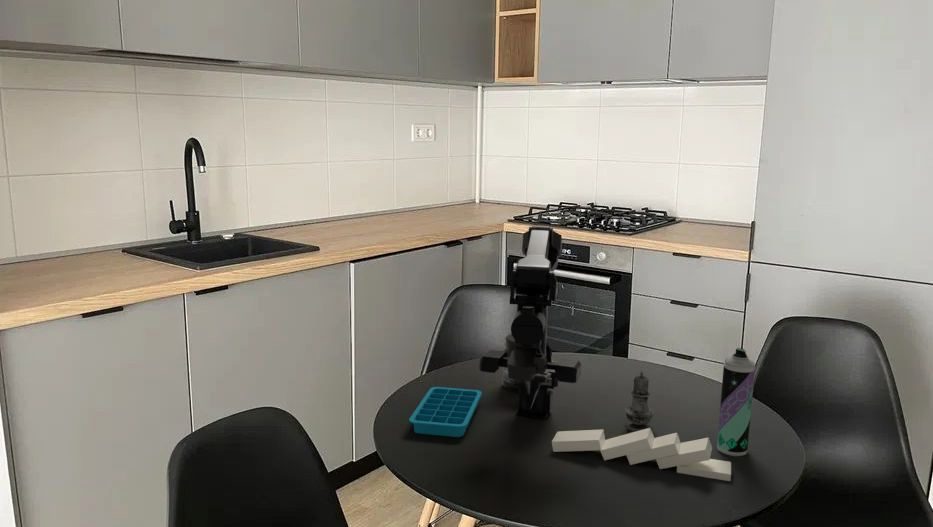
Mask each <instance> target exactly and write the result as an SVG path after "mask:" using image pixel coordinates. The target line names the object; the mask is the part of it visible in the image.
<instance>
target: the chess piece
mask: <svg viewBox="0 0 933 527" xmlns="http://www.w3.org/2000/svg"><path fill="white" fill-rule="evenodd" d="M632 389H633V390H632V391H631V395H632V401H631V405H629V406H626V407H625V408H624V412H625V416H626V419H627V420H628V421H629V422H628V423H626V424H625V426H624V427H625V429H626V430H627V431H630V432H631V433H632V432H636V431H640V430H643V429H647V428H651V431H652V430H653V428H652V425H650V424H649V423H650V422H651V421H652V419H653V416H654V415H655V411H654V410H653V409H652V408H650V407H649V396H650V392H649V378H648V377H647V376H645V375H644V372H643V371H640V373H639V374H638V375H636V376H635V377H634V379H633V388H632Z"/></svg>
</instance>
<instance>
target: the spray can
mask: <svg viewBox="0 0 933 527" xmlns="http://www.w3.org/2000/svg"><path fill="white" fill-rule="evenodd" d="M746 353H747V351H746V350H745V349H744V348H741V347H737V348H736V349H735V352H734V353H733V354H732V355H731V356H729V357H726V358H725V359H724V363H723V370H722V371H723V372H722V380H721V381H722V382H721V383H722V384H721V394H720V403H719V404H720V405H719V417H718V429H717V430H718V431H717V442H716V449H717V450H718V451H719V452H720V453H722V454H724V455H727V456H732V457H741V456H742V457H743V456H745V455H746V454H747V453H748V448H749V435H750V426H751V425H750V424H751V414H752V403H753V392H754V383H755V372H756V367H755V365H756V363H755V361H754V360H752V359H750V358H749V356H748V354H746Z"/></svg>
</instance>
